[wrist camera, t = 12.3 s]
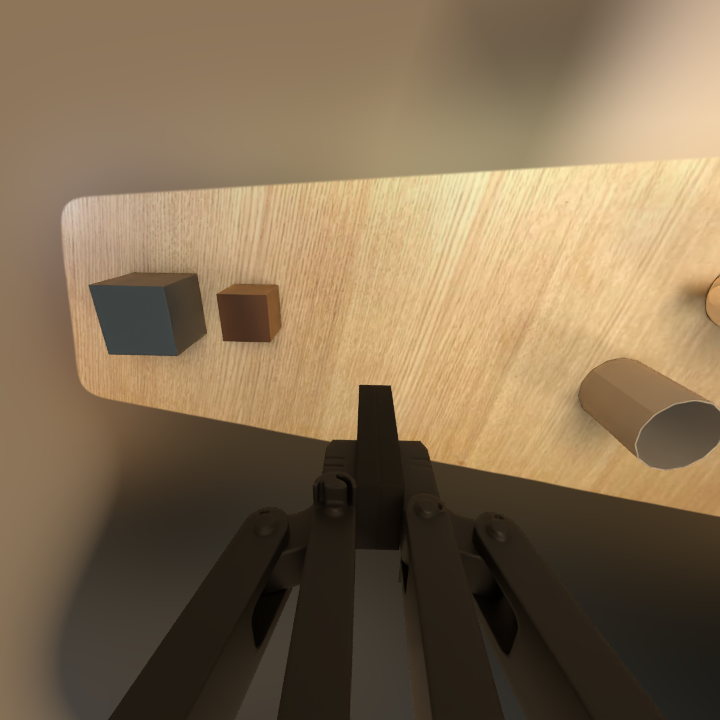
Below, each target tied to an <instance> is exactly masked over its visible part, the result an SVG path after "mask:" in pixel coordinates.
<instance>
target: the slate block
mask: <svg viewBox="0 0 720 720" xmlns="http://www.w3.org/2000/svg"><path fill="white" fill-rule="evenodd" d="M89 288H90V292H91V295H92V299H93V302H94V305H95V309H96V312H97V316H98V319H99V323H100V326H101V329H102V333H103V336H104V340H105V343H106V346H107V350H108V353H109V354H113V355H156V356H178V355H180V354H181V353H182V352H183V351H185V350H186V349H187V348H189V347H190V346H191V345H192V344H194V343H195V342H196V341H197V340H199V339H200V338H201V337H203V336H204V335H205V334H206V333H207V332H206V326H205V320H204V314H203V308H202V302H201V296H200V290H199V284H198V278H197V274H183V273H136V272H134V273H131V274H127V275H123V276H120V277H116V278H112V279H109V280H105V281H102V282H98V283H94V284H91V285H89Z"/></svg>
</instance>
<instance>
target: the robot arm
mask: <svg viewBox="0 0 720 720" xmlns="http://www.w3.org/2000/svg"><path fill="white" fill-rule="evenodd" d="M313 498H314V504H313V505H312V506H310V507H309V508H307V509H306V510H304V511H301V512H298V513H295V514H291V515H286V513H285V512H284V511H283V510H281V509H278V508H276V507H266V508H262V509H259V510H257V511H255V512H253V513H252V514H251V515H250V516H249V517H248V518H247V519H246V520H245V522H244V523H243V524H242V526H241V527H240V529H239V530H238V532H237V533H236V535H235V536H234V538H233V539H232V540H231V542H230V544H229V545H228V546H227V548H226V549H225V551H224V552H223V554H222V555H221V556H220V558H219V559H218V561H217V562H216V564H215V565H214V567H213V568H212V569H211V571H210V573H209V574H208V575H207V577H206V578H205V580H204V581H203V583H202V584H201V586H200V587H199V588H198V590H197V591H196V593H195V594H194V596H193V597H192V599H191V600H190V602H189V603H188V605H187V606H186V607H185V609H184V610H183V612H182V613H181V615H180V616H179V618H178V619H177V620H176V622H175V623H174V625H173V626H172V628H171V629H170V631H169V632H168V634H167V635H166V636H165V638H164V639H163V641H162V642H161V644H160V645H159V647H158V648H157V650H156V651H155V652H154V654H153V656H152V657H151V658H150V660H149V661H148V663H147V664H146V666H145V667H144V668H143V670H142V671H141V673H140V674H139V676H138V678H137V679H136V680H135V682H134V683H133V684H132V686H131V687H130V689H129V690H128V692H127V693H126V695H125V696H124V698H123V699H122V700H121V702H120V703H119V705H118V706H117V708H116V710H115V711H114V712H113V714H112V715H111V717H110V718H109V719H108V720H235V718H236V716H237V714H238V711H239V709H240V707H241V705H242V702H243V700H244V698H245V695H246V693H247V691H248V689H249V686H250V684H251V681H252V679H253V677H254V675H255V673H256V670H257V668H258V666H259V664H260V661H261V659H262V657H263V654H264V652H265V650H266V648H267V645H268V643H269V641H270V638H271V636H272V634H273V631H274V629H275V627H276V625H277V622H278V620H279V618H280V616H281V613H282V611H283V609H284V606H285V604H286V602H287V600H288V597H289V595H290V593H291V591H292V587H293V586H297V585H300V590H299V596H298V601H297V607H296V613H295V618H294V624H293V630H292V636H291V642H290V647H289V653H288V659H287V665H286V671H285V676H284V682H283V688H282V694H281V700H280V706H279V711H278V717H277V720H351V691H352V653H353V618H354V584H355V581H354V580H355V549H377V550H399V547H400V549H401V561H400V571H399V582H402V593H403V604H404V615H405V626H406V637H407V647H408V658H409V669H410V680H411V691H412V701H413V712H414V720H505V719H504V715H503V712H502V708H501V704H500V701H499V697H498V693H497V689H496V686H495V682H494V678H493V675H492V671H491V668H490V664H489V660H488V656H487V652H486V649H485V645H484V641H483V637H482V634H481V630H480V626H479V623H480V625H481V627H482V629H483V631H484V633H485V635H486V637H487V639H488V641H489V643H490V645H491V647H492V649H493V651H494V653H495V655H496V657H497V659H498V661H499V663H500V665H501V667H502V669H503V671H504V673H505V675H506V677H507V679H508V681H509V684H510V685H511V687H512V690H513V692H514V694H515V696H516V698H517V700H518V702H519V704H520V706H521V708H522V710H523V712H524V714H525V716H526V718H527V720H666V719H665V717H664V716H663V715H662V713H661V712H660V711H659V709H658V708H657V707H656V705H655V704H654V703H653V701H652V700H651V699H650V698H649V696H648V695H647V694H646V693H645V691H644V690H643V688H642V687H641V686H640V685H639V683H638V682H637V681H636V679H635V678H634V677H633V675H632V674H631V673H630V671H629V670H628V669H627V668H626V666H625V665H624V664H623V662H622V661H621V660H620V658H619V657H618V656H617V655H616V653H615V652H614V651H613V649H612V648H611V647H610V645H609V644H608V643H607V641H606V640H605V639H604V637H603V636H602V635H601V634H600V632H599V631H598V630H597V628H596V627H595V626H594V624H593V623H592V622H591V620H590V619H589V618H588V617H587V615H586V614H585V613H584V611H583V610H582V609H581V607H580V606H579V605H578V603H577V602H576V601H575V600H574V598H573V597H572V596H571V594H570V593H569V592H568V591H567V589H566V588H565V586H564V585H563V584H562V583H561V581H560V580H559V579H558V577H557V576H556V575H555V573H554V572H553V571H552V569H551V568H550V567H549V566H548V564H547V563H546V562H545V560H544V559H543V558H542V556H541V555H540V554H539V552H538V551H537V550H536V549H535V547H534V546H533V544H532V543H531V542H530V541H529V539H528V538H527V537H526V535H525V534H524V533H523V532H522V530H521V529H520V528H519V526H518V525H517V524H516V523H515V522H514V521H513V520H511V519H510V518H508V517H506V516H505V515H503V514H499V513H496V512H485V513H483V514H480V515H479V516H478V517H477V519H476V520H474V519H470V518H467V517H463V516H461V515H458V514H456V513H454V512H452V511H450V510H449V509H448V508H447V507H446V505H445V503H444V502H443V501H442V500H441V499H440V496H439V493H438V489H437V485H436V481H435V477H434V473H433V469H432V465H431V462H430V457H429V453H428V450H427V448H426V447H425V446H424V445H423V444H422V443H421V441H398V434H397V426H396V419H395V412H394V405H393V398H392V391H391V386H385V385H359V406H358V431H357V440H332V441H331V443H330V444H329V445H328V446H327V448H326V453H325V460H324V466H323V471H322V475H321V476H320V477H318V478H317V479H316V480H315V482H314V485H313ZM478 620H479V623H478Z"/></svg>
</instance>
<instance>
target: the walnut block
mask: <svg viewBox="0 0 720 720" xmlns="http://www.w3.org/2000/svg"><path fill="white" fill-rule="evenodd" d="M217 301H218V308H219V314H220V321H221V328H222V335H223V341H238V342H271V341H272V340H273V338H274V337H275V336H276V334H277V333H278V331H279V330H280V329H281V316H280V302H279V289H278V285H252V284H233V285H232V286H230V287H228V288H226V289H225V290H223V291H221V292H219V293H218V294H217Z"/></svg>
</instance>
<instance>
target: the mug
mask: <svg viewBox="0 0 720 720" xmlns="http://www.w3.org/2000/svg"><path fill="white" fill-rule="evenodd" d="M706 311H707V314H708V316H709V317H710V319H711V320H712V321H713V322H714V323H715V324H717V325H719V326H720V276H719V277H718V278H717V279H716V280H715V282H714V283H713V285H712V286H711V288H710V290H709V292H708V295H707V299H706Z"/></svg>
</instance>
